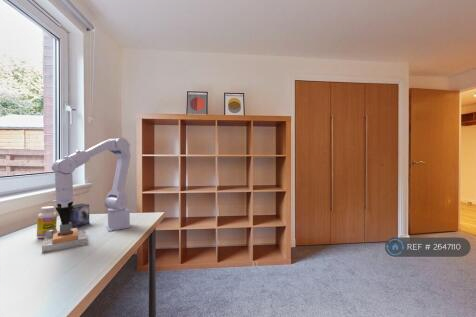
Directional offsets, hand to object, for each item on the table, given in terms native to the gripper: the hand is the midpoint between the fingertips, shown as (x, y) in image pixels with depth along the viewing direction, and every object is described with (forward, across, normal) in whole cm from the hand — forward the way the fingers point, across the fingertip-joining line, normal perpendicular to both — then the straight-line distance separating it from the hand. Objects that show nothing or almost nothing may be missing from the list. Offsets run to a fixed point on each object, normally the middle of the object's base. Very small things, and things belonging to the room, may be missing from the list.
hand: (65, 221), depth 96 cm
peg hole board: (+9, 0, 0) cm, 9 cm away
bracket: (+6, -3, 0) cm, 7 cm away
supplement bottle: (+9, -15, -7) cm, 19 cm away
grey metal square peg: (+9, 0, 0) cm, 9 cm away
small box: (+9, -25, +4) cm, 27 cm away
